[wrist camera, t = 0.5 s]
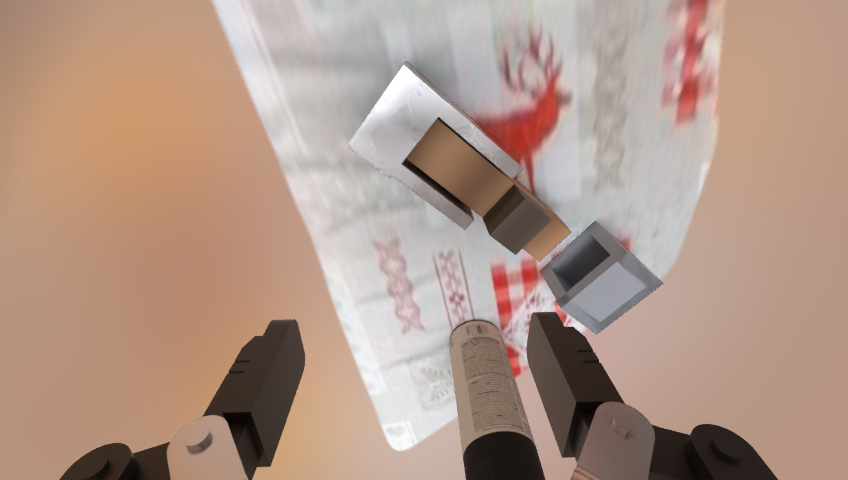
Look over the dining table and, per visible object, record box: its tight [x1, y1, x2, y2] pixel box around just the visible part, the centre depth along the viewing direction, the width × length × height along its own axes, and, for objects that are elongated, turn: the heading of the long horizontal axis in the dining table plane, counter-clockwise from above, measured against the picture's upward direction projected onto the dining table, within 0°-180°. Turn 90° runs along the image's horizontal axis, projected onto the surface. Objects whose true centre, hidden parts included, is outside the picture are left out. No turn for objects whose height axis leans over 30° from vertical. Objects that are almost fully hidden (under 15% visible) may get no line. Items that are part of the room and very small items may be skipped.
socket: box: [540, 221, 663, 334], centre depth 38 cm, size 8×6×7 cm
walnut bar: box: [406, 117, 571, 262], centre depth 31 cm, size 20×4×8 cm, turn 51°
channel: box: [347, 62, 523, 230], centre depth 31 cm, size 12×7×8 cm, turn 51°
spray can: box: [450, 320, 545, 480], centre depth 37 cm, size 7×7×20 cm
